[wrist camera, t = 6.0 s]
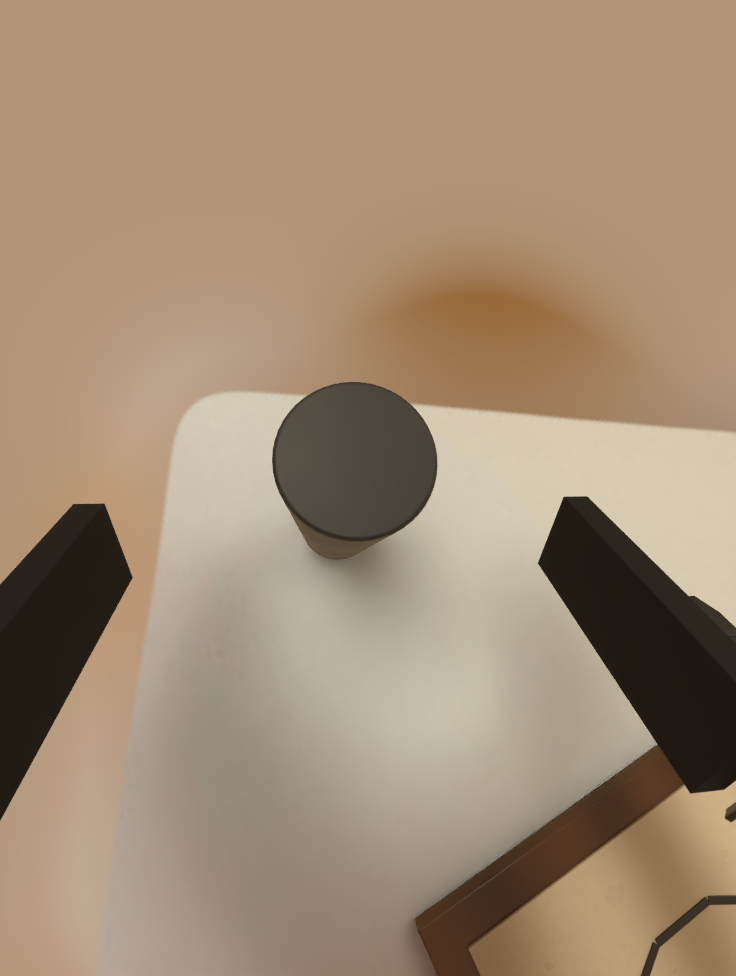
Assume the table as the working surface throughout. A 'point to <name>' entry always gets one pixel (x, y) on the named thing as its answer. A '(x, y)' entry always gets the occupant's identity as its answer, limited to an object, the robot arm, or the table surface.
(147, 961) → the table surface
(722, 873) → the sketch board
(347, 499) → the disc
